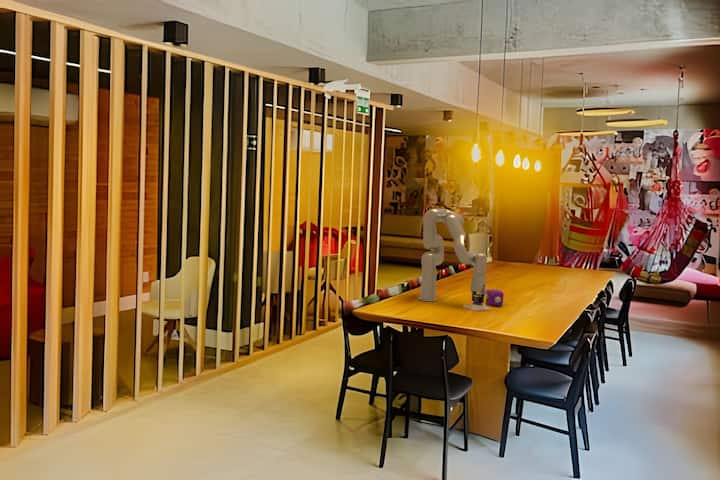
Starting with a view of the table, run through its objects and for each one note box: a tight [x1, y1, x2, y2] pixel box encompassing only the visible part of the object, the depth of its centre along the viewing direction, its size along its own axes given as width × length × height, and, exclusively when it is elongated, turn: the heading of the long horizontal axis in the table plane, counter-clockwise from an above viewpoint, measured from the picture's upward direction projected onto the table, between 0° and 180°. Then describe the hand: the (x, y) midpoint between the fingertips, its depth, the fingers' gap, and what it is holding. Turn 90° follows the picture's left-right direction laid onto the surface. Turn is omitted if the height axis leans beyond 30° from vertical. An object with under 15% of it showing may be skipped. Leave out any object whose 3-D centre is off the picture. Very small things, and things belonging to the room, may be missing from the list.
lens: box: [472, 293, 482, 305], centre depth 390 cm, size 5×5×8 cm
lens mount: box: [463, 301, 492, 312], centre depth 390 cm, size 12×12×3 cm
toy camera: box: [485, 288, 504, 307], centre depth 404 cm, size 11×14×10 cm
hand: (477, 301), depth 390 cm, fingers open, 6 cm apart
